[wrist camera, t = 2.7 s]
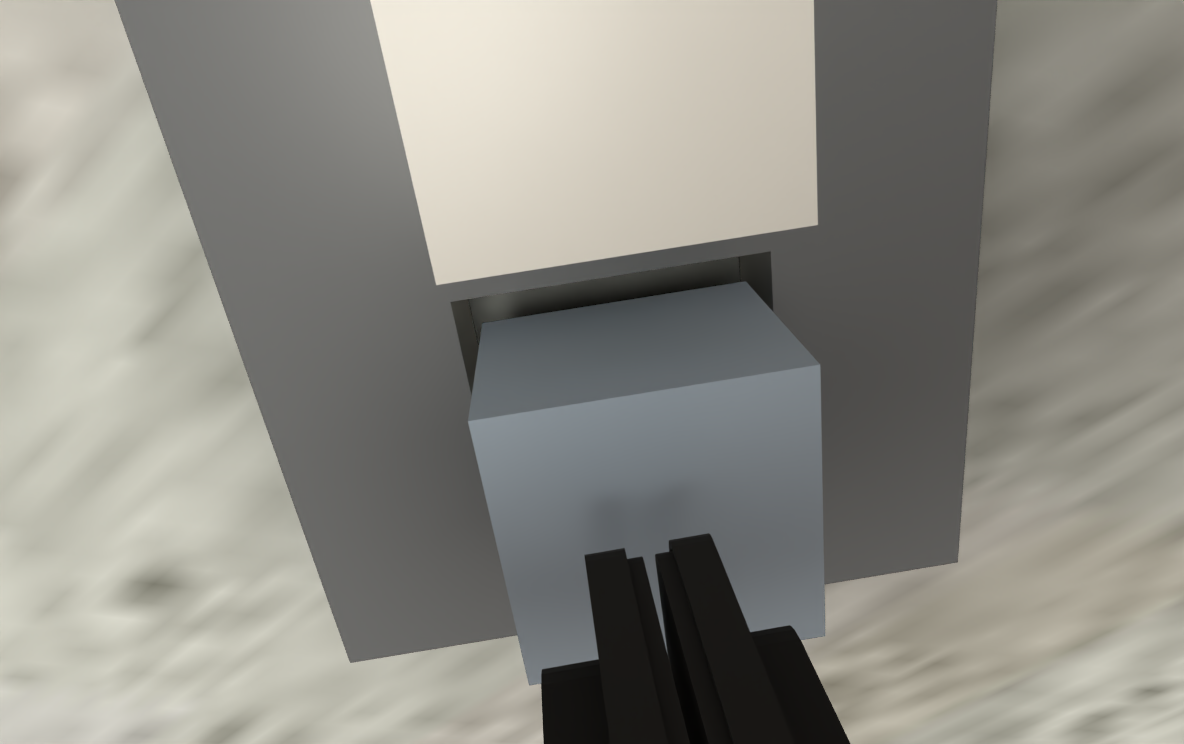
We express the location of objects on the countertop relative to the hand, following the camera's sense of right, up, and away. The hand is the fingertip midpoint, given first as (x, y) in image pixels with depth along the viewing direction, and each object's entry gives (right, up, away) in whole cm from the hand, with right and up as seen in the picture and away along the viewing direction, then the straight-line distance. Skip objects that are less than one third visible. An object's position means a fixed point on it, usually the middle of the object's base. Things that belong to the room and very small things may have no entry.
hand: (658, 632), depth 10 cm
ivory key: (-1, +9, +2) cm, 9 cm away
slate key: (0, +2, +5) cm, 6 cm away
